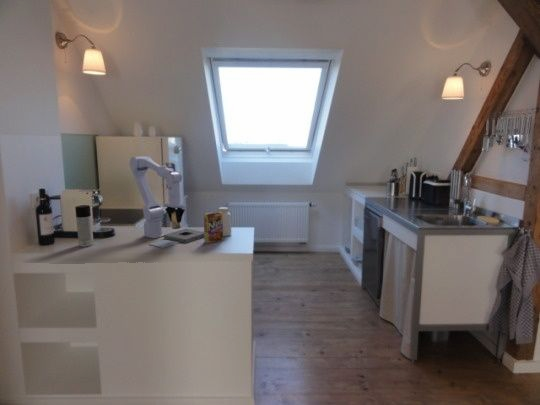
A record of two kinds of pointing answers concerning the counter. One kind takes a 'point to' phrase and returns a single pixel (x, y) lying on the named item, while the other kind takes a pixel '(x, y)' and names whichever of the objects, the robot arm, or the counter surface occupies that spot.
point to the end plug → (175, 221)
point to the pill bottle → (226, 221)
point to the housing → (181, 234)
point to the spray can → (84, 225)
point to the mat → (164, 243)
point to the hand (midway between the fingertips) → (175, 221)
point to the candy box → (213, 227)
